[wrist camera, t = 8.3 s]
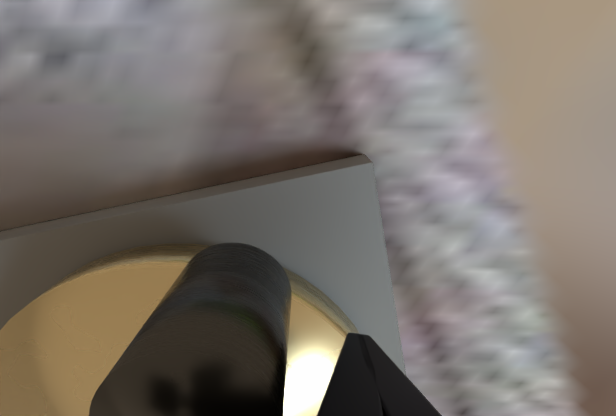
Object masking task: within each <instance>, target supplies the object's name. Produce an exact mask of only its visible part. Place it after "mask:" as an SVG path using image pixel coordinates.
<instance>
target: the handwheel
mask: <svg viewBox="0 0 616 416" xmlns="http://www.w3.org/2000/svg"><path fill="white" fill-rule="evenodd" d="M349 332H352V333H358V334H360V333H359V331H358V330H357V328H356V327H355V325H354V324H353V323H352V321H351V320H350V319H349V318H348V317H347V316H346V314H345V313H344V312H343V311H342V310H341V308H340V307H339V306H338V305H336V304H335V303H334V302H333V301H332V300H331V299H330V298H329V297H328V296H326V295H325V294H324V293H323V292H322V291H321V290H319V289H318V288H316V287H315V286H314V285H312V284H311V283H309V282H308V281H306V280H305V279H303V278H302V277H300V276H299V275H297V274H295V273H293V272H291V271H289V270H287V269H285V268H283V267H282V266H281V265H280V264H279V262H278V261H277V260H276V259H274V258H273V257H272V256H271V255H270V254H268V253H267V252H265V251H263V250H261V249H259V248H257V247H254V246H252V245H248V244H244V243H221V244H216V245H213V246H209V245H201V244H158V245H150V246H142V247H136V248H132V249H128V250H124V251H120V252H116V253H112V254H110V255H107V256H105V257H102V258H100V259H97V260H95V261H92V262H90V263H88V264H86V265H84V266H82V267H81V268H79V269H77V270H76V271H74V272H72V273H70V274H69V275H67V276H66V277H64V278H63V279H62V280H60V281H59V282H58V283H56V284H55V285H53V286H52V287H51V288H49V289H48V290H47V291H45V292H44V293H43V294H41V295H40V296H39V297H37V298H36V299H35V300H33V301H32V302H31V303H29V304H28V305H27V306H26V307H24V308H23V309H22V310H21V311H19V312H18V313H17V314H16V315H14V316H13V317H12V318H11V319H10V320H9V321H8V322H7V323H6V324H5V325H4V327H3V328H2V329H1V330H0V416H317V413H318V411H319V408H320V405H321V403H322V400H323V397H324V394H325V392H326V389H327V386H328V384H329V381H330V378H331V376H332V373H333V370H334V368H335V365H336V362H337V360H338V357H339V354H340V352H341V349H342V346H343V344H344V341H345V338H346V336H347V334H348V333H349Z"/></svg>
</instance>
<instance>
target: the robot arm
mask: <svg viewBox="0 0 616 416" xmlns="http://www.w3.org/2000/svg"><path fill="white" fill-rule="evenodd" d="M317 416H441V414H440V413H439V412H438V411H437V410H436V409H435V408H434V407H433V405H432V404H431V403H430V402H429V401H428V400H427V399H426V398H425V397H424V395H423V394H422V393H421V392H420V391H419V390H418V389H417V388H416V387H415V385H414V384H413V383H412V382H411V381H410V380H409V379H408V378H407V376H406V375H405V374H404V373H403V372H402V371H401V370H400V369H399V368H398V366H397V365H396V364H395V363H394V362H393V361H392V360H391V359H390V358H389V356H388V355H387V354H386V353H385V352H384V351H383V350H382V349H381V347H380V346H379V345H378V344H377V343H376V342H375V341H374V340H373V339H372V337H371V336H369V335H365V334H358V333H352V332H349V333H348V334H347V336H346V338H345V341H344V344H343V346H342V349H341V352H340V354H339V357H338V360H337V362H336V365H335V368H334V370H333V373H332V376H331V378H330V381H329V384H328V386H327V389H326V392H325V394H324V397H323V400H322V403H321V405H320V408H319V411H318V413H317Z"/></svg>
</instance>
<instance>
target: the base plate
mask: <svg viewBox="0 0 616 416" xmlns="http://www.w3.org/2000/svg"><path fill="white" fill-rule="evenodd" d="M221 243H244V244H248V245H252V246H254V247H257V248H259V249H261V250H263V251H265V252H267V253H268V254H270V255H271V256H272V257H273V258H274V259H276V260H277V261H278V262H279V264H280V265H281V266H282V267H283V268H285V269H287V270H289V271H291V272H293V273H295V274H297V275H299V276H300V277H302V278H303V279H305V280H306V281H308V282H309V283H311V284H312V285H314V286H315V287H316V288H318V289H319V290H321V291H322V292H323V293H324V294H325V295H326V296H328V297H329V298H330V299H331V300H332V301H333V302H334V303H335V304H336V305H338V306H339V307H340V308H341V310H342V311H343V312H344V313H345V314H346V316H347V317H348V318H349V319H350V320H351V321H352V323H353V324H354V325H355V327H356V328H357V330H358V331H359V333H360V334H365V335H369V336H371V337H372V339H373V340H374V341H375V342H376V343H377V344H378V345H379V346H380V347H381V349H382V350H383V351H384V352H385V353H386V354H387V355H388V356H389V358H390V359H391V360H392V361H393V362H394V363H395V364H396V365H397V366H398V368H399V369H400V370H401V371H402V372H403V373H404V374H405V375H406V372H405V365H404V359H403V353H402V346H401V340H400V334H399V327H398V321H397V314H396V308H395V302H394V295H393V289H392V283H391V276H390V270H389V264H388V257H387V251H386V245H385V238H384V232H383V226H382V219H381V213H380V206H379V200H378V194H377V187H376V181H375V175H374V168H373V162H372V161H371V160H370V159H369V158H368V157H367V156H366V155H365V154H363V155H358V156H354V157H349V158H344V159H339V160H335V161H330V162H325V163H321V164H316V165H311V166H306V167H302V168H297V169H292V170H288V171H283V172H278V173H273V174H269V175H264V176H259V177H254V178H250V179H245V180H240V181H236V182H231V183H226V184H221V185H217V186H212V187H207V188H203V189H198V190H193V191H188V192H184V193H179V194H174V195H170V196H165V197H160V198H155V199H151V200H146V201H141V202H137V203H132V204H127V205H122V206H118V207H113V208H108V209H103V210H99V211H94V212H89V213H85V214H80V215H75V216H70V217H66V218H61V219H56V220H52V221H47V222H42V223H37V224H33V225H28V226H23V227H19V228H14V229H9V230H4V231H0V330H1V329H2V328H3V327H4V325H5V324H6V323H7V322H8V321H9V320H10V319H11V318H12V317H13V316H14V315H16V314H17V313H18V312H19V311H21V310H22V309H23V308H24V307H26V306H27V305H28V304H29V303H31V302H32V301H33V300H35V299H36V298H37V297H39V296H40V295H41V294H43V293H44V292H45V291H47V290H48V289H49V288H51V287H52V286H53V285H55V284H56V283H58V282H59V281H60V280H62V279H63V278H64V277H66V276H67V275H69V274H70V273H72V272H74V271H76V270H77V269H79V268H81V267H82V266H84V265H86V264H88V263H90V262H92V261H95V260H97V259H100V258H102V257H105V256H107V255H110V254H112V253H116V252H120V251H124V250H128V249H132V248H136V247H142V246H150V245H158V244H201V245H209V246H213V245H216V244H221Z"/></svg>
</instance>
